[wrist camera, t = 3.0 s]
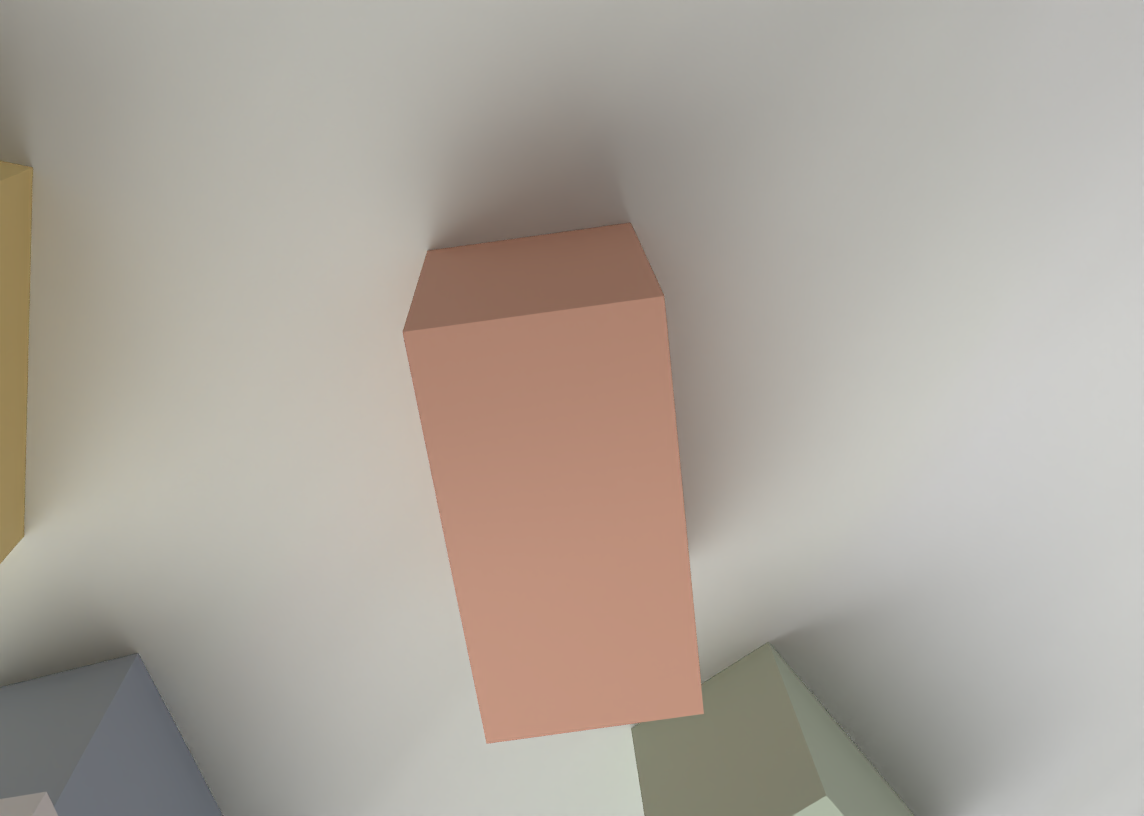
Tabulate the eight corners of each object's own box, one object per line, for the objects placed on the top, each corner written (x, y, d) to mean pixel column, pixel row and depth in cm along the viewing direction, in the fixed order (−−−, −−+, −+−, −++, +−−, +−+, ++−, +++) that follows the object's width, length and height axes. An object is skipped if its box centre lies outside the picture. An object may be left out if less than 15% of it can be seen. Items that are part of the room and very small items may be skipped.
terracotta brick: (427, 249, 20) (402, 332, 16) (629, 220, 20) (663, 296, 16) (491, 591, 23) (486, 743, 19) (666, 567, 23) (703, 713, 19)
